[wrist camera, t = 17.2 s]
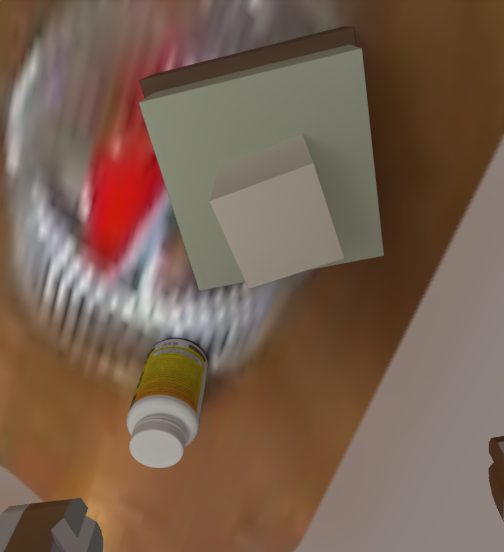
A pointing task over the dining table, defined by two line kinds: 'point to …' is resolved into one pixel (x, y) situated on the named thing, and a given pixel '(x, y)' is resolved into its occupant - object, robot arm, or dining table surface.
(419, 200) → the dining table surface
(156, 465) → the supplement bottle
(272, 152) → the cream block
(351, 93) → the tower top
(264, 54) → the tower base
